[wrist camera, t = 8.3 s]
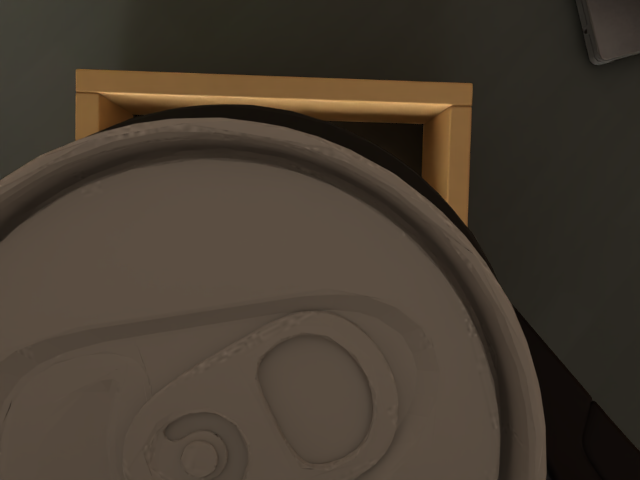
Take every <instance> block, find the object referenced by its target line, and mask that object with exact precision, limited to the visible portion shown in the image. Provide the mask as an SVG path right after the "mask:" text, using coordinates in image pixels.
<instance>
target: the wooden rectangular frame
mask: <svg viewBox="0 0 640 480" xmlns="http://www.w3.org/2000/svg"><path fill="white" fill-rule="evenodd" d="M76 92H77V93H76V141H77V140H79V139H82V138H85V137H87V136H89V135H91V134H94V133H96V132H99V131H101V130H103V129H106V128H108V127H111V126H113V125H116V124H118V123H121V122H123V121H126V120H128V119H131V118H133V115H147V114H151V113H155V112H160V111H164V110H169V109H175V108H182V107H188V106H199V105H216V104H242V105H256V106H263V107H270V108H276V109H282V110H289V111H293V112H296V113H300V114H303V115H307V116H310V117H313V118H316V119H320V120H323V121H348V122H379V123H410V124H424V126H423V152H422V178H423V179H424V180H425V181H426V182H427V183H428V184H429V185H430V186H431V187H433V188H434V189H435V190H436V191H437V192H438V193H439V194H440V195H441V196H442V198H443V199H444V200H445V201H446V202H447V203H448V204H449V205H450V206H451V207H452V209H453V210H454V211H455V212H456V214H457V215H458V216H459V217H460V219H461V220H462V221H463V222H464V224H465V225H466V226H468V198H469V171H470V143H471V116H472V108H471V107H470V106H472V92H473V84H471V83H450V82H422V81H395V80H368V79H340V78H313V77H285V76H258V75H230V74H203V73H175V72H148V71H120V70H93V69H76ZM132 114H133V115H132Z"/></svg>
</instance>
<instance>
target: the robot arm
mask: <svg viewBox="0 0 640 480" xmlns="http://www.w3.org/2000/svg"><path fill="white" fill-rule="evenodd" d="M510 303H511V302H510ZM511 304H512V303H511ZM512 307H513V309H514V312H515V314H516V316H517V319H518V321H519V324H520V326H521V328H522V331H523V333H524V336H525V338H526V341H527V343H528V347H529V350H530V354H531V357H532V361H533V364H534V368H535V371H536V375H537V378H538V382H539V387H540V392H541V398H542V405H543V412H544V419H545V427H546V470H547V474H546V480H640V451H639V450H638V449H637V448H636V447H635V446H634V445H633V444H632V442H631V441H630V440H629V439H628V438H627V437H626V436H625V435H624V434H623V432H622V431H621V430H620V429H619V428H618V427H617V426H616V425H615V423H614V422H613V421H612V420H611V419H610V418H609V417H608V415H607V414H606V413H605V412H604V411H603V410H602V408H601V407H600V406H599V405H598V404H597V403H596V402H595V401H592V397H591V396H590V395H589V394H588V392H587V391H586V390H585V389H584V388H583V386H582V385H581V384H580V383H579V382H578V381H577V379H576V378H575V377H574V376H573V375H572V374H571V372H570V371H569V370H568V369H567V368H566V367H565V365H564V364H563V363H562V362H561V361H560V360H559V358H558V357H557V356H556V355H555V354H554V353H553V351H552V350H551V349H550V348H549V347H548V346H547V344H546V343H545V342H544V341H543V340H542V339H541V337H540V336H539V335H538V334H537V333H536V332H535V330H534V329H533V328H532V327H531V326H530V325H529V323H528V322H527V321H526V320H525V319H524V318H523V316H522V315H521V314H520V313H519V312H518V311H517V309H516V308H515V307H514V306H513V305H512ZM591 401H592V402H591Z"/></svg>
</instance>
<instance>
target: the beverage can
mask: <svg viewBox="0 0 640 480" xmlns="http://www.w3.org/2000/svg"><path fill="white" fill-rule="evenodd" d="M546 474H547V470H546V427H545V419H544V412H543V405H542V398H541V392H540V387H539V382H538V378H537V375H536V371H535V368H534V364H533V361H532V357H531V354H530V350H529V347H528V343H527V341H526V338H525V336H524V333H523V331H522V328H521V326H520V324H519V321H518V319H517V316H516V314H515V312H514V309H513V307H512V304H511V303H510V301H509V299H508V298H507V296H506V295H505V293H504V291H503V290H502V288H501V287H500V285H499V283H498V280H497V278H496V276H495V273H494V271H493V268H492V266H491V265H490V263H489V261H488V259H487V258H486V256H485V254H484V253H483V251H482V249H481V247H480V246H479V244H478V242H477V240H476V239H475V237H474V235H473V234H472V233H471V231H470V230H469V229H468V227H467V226H466V225H465V224H464V222H463V221H462V220H461V219H460V217H459V216H458V215H457V214H456V212H455V211H454V210H453V209H452V207H451V206H450V205H449V204H448V203H447V202H446V201H445V200H444V199H443V198H442V196H441V195H440V194H439V193H438V192H437V191H436V190H435V189H434V188H433V187H431V186H430V185H429V184H428V183H427V182H426V181H425V180H424V179H423V178H422V177H421V176H419V175H418V174H417V173H416V172H415V171H413V170H412V169H411V168H410V167H408V166H407V165H406V164H404V163H403V162H402V161H400V160H399V159H398V158H396V157H395V156H393V155H392V154H390V153H389V152H387V151H385V150H384V149H382V148H381V147H379V146H378V145H376V144H374V143H372V142H370V141H368V140H367V139H365V138H363V137H361V136H359V135H357V134H355V133H352V132H350V131H348V130H346V129H344V128H341V127H339V126H336V125H334V124H331V123H328V122H326V121H323V120H320V119H316V118H313V117H310V116H307V115H303V114H300V113H296V112H293V111H289V110H282V109H276V108H270V107H263V106H256V105H242V104H216V105H199V106H188V107H182V108H175V109H169V110H164V111H160V112H155V113H151V114H147V115H142V116H138V117H134V118H131V119H128V120H126V121H123V122H121V123H118V124H116V125H113V126H111V127H108V128H106V129H103V130H101V131H99V132H96V133H94V134H91V135H89V136H87V137H85V138H82V139H79V140H77V141H74V142H72V143H69V144H67V145H65V146H62V147H60V148H57V149H55V150H53V151H50V152H48V153H46V154H43V155H41V156H38V157H37V158H35V159H34V160H32V161H30V162H29V163H27V164H26V165H24V166H22V167H21V168H19V169H18V170H16V171H14V172H13V173H11V174H9V175H8V176H6V177H5V178H3V179H1V180H0V480H546Z"/></svg>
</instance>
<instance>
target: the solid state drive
mask: <svg viewBox="0 0 640 480" xmlns="http://www.w3.org/2000/svg"><path fill="white" fill-rule="evenodd" d="M576 4H577V8H578V12H579V17H580V21H581V25H582V29H583V33H584V38H585V42H586V47H587V51H588V55H589V59H590V61H591V62H592V63H593V64H595V65H601V64H605V63H611V62H613V61H615V60H618V59H622V58H625V57H629V56H633V55H637V54H640V0H576Z"/></svg>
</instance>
